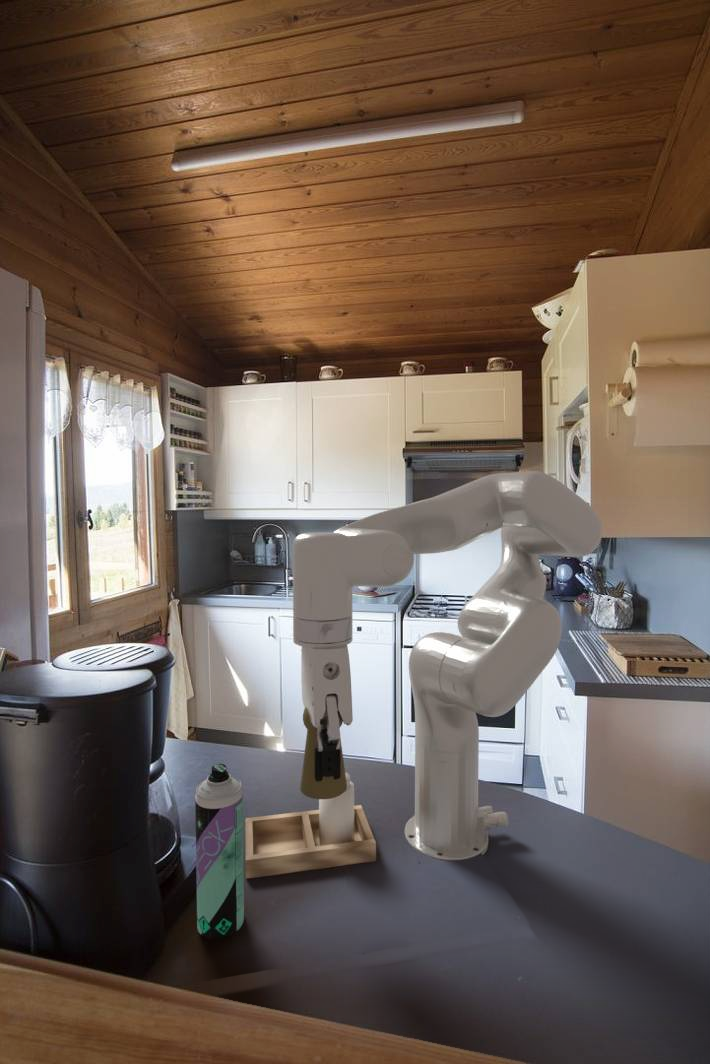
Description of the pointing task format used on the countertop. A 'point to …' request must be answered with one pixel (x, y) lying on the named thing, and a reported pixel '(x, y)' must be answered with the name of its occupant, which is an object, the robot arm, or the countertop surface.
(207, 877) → the spray can
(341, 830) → the salt shaker
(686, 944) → the countertop surface
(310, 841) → the caddy
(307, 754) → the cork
